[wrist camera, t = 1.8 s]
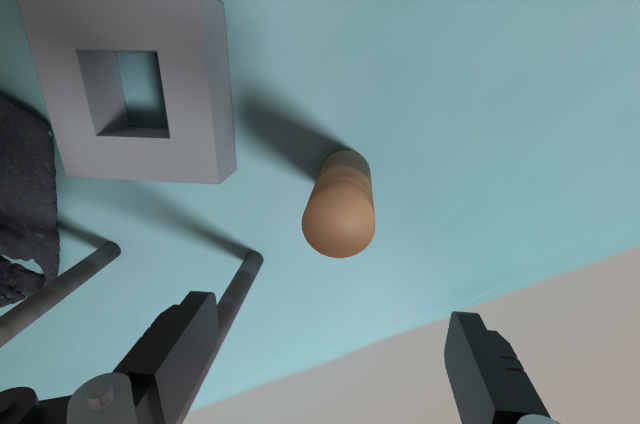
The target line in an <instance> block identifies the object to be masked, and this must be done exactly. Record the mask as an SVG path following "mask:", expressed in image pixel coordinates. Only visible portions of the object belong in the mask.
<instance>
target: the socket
mask: <svg viewBox="0 0 640 424" xmlns="http://www.w3.org/2000/svg"><path fill="white" fill-rule="evenodd" d="M17 2H18V6H19V9H20V13H21V17H22V20H23V24H24V27H25V31H26V35H27V38H28V42H29V45H30V49H31V52H32V56H33V60H34V63H35V67H36V70H37V74H38V78H39V81H40V85H41V88H42V92H43V95H44V99H45V103H46V106H47V110H48V113H49V117H50V121H51V124H52V128H53V131H54V135H55V138H56V142H57V146H58V149H59V153H60V156H61V160H62V164H63V167H64V171H65V174H66V177H76V178H97V179H118V180H139V181H160V182H180V183H201V184H220V183H221V182H223V181H224V180H225V179H226V178H228V177H229V176H230V175H231V174H232V173H234V172H235V171H236V170H237V162H236V149H235V137H234V124H233V112H232V100H231V87H230V75H229V63H228V50H227V38H226V25H225V13H224V3H222V2H220V1H218V0H17ZM115 52H145V53H158V60H159V66H160V73H161V80H162V86H163V93H164V99H165V106H166V112H167V119H168V126H169V129H168V128H138V127H130V125H129V120H128V115H127V110H126V105H125V99H124V94H123V89H122V84H121V79H120V74H119V69H118V63H117V58H116V53H115Z"/></svg>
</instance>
